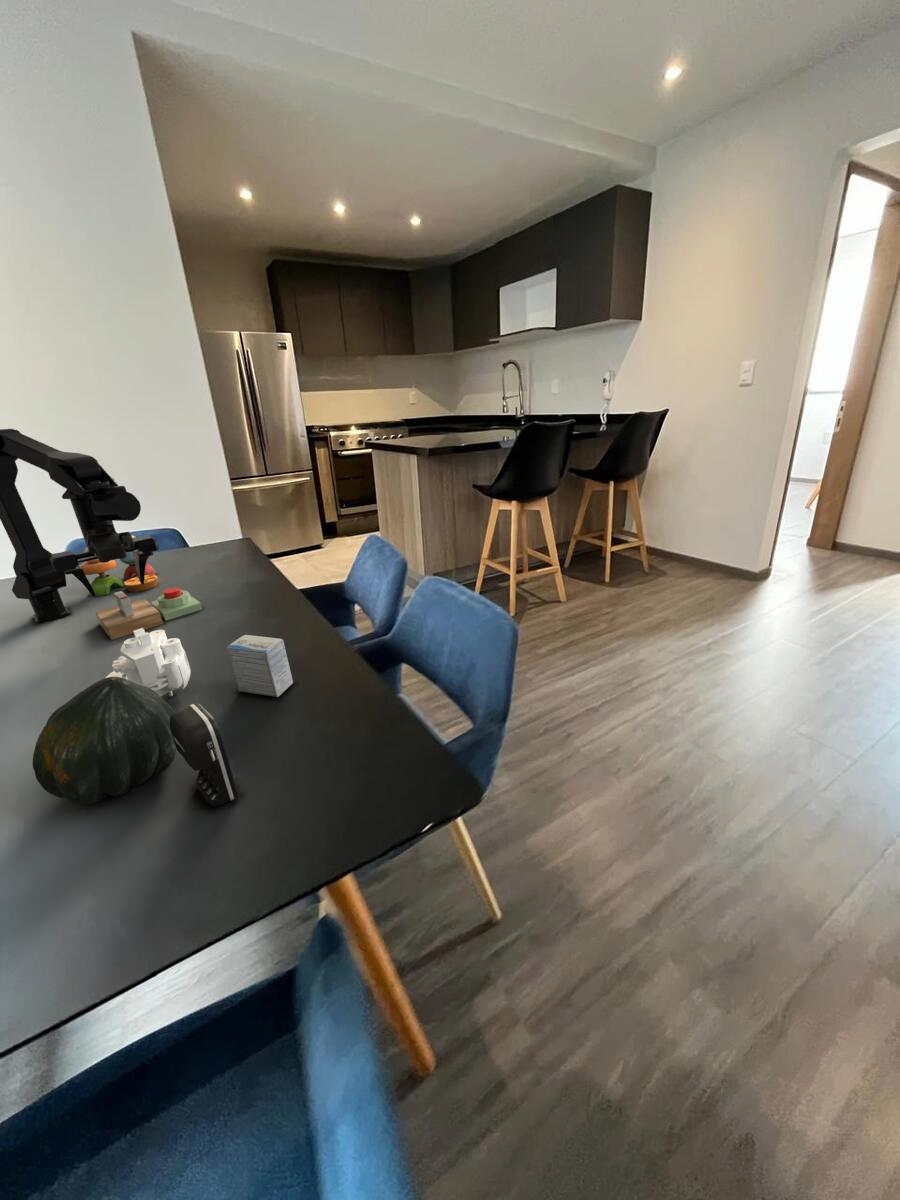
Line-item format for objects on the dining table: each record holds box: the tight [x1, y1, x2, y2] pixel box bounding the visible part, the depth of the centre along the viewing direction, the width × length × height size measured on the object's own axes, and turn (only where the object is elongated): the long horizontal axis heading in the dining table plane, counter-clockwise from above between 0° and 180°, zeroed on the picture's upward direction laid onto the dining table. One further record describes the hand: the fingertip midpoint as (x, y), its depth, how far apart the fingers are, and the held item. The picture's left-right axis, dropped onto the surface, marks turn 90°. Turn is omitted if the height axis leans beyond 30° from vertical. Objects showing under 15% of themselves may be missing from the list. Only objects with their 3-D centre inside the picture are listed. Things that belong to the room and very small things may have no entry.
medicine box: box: [226, 634, 294, 698], centre depth 80 cm, size 8×4×9 cm, turn 71°
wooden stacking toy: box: [80, 535, 158, 597], centre depth 135 cm, size 18×17×12 cm
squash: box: [32, 677, 177, 806], centre depth 62 cm, size 14×15×15 cm
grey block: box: [113, 590, 134, 617], centre depth 108 cm, size 6×2×4 cm, turn 44°
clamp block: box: [95, 598, 164, 641], centre depth 110 cm, size 12×11×3 cm
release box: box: [150, 589, 203, 621], centre depth 117 cm, size 11×8×4 cm
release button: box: [162, 587, 182, 599], centre depth 116 cm, size 4×4×2 cm
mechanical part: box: [105, 628, 191, 698], centre depth 78 cm, size 11×12×12 cm
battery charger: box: [170, 702, 239, 808], centre depth 58 cm, size 7×4×11 cm, turn 45°
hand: (119, 590), depth 107 cm, fingers open, 9 cm apart
